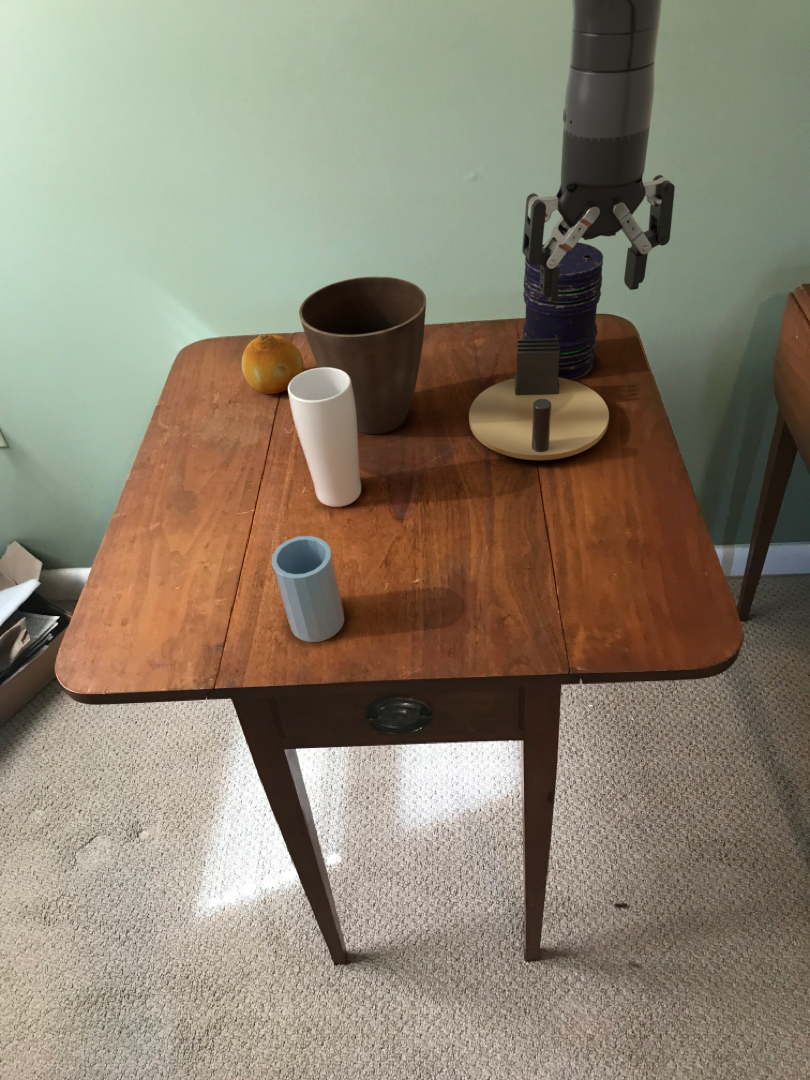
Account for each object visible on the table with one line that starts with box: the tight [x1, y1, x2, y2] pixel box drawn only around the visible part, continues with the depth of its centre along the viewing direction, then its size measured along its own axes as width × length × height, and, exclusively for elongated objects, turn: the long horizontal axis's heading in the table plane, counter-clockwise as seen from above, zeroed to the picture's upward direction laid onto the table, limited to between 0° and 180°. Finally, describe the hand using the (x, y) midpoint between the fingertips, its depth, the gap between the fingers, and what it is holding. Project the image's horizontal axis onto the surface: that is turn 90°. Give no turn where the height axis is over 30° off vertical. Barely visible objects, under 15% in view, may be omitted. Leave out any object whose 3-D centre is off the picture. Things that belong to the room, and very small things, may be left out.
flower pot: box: [298, 276, 427, 435], centre depth 95 cm, size 15×15×16 cm
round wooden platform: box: [468, 338, 610, 460], centre depth 93 cm, size 17×17×7 cm
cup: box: [271, 535, 345, 643], centre depth 73 cm, size 5×5×9 cm
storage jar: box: [521, 241, 604, 381], centre depth 101 cm, size 10×10×15 cm
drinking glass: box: [287, 367, 362, 508], centre depth 84 cm, size 7×7×15 cm
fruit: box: [241, 333, 304, 395], centre depth 106 cm, size 8×8×8 cm
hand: (591, 292), depth 79 cm, fingers open, 8 cm apart
